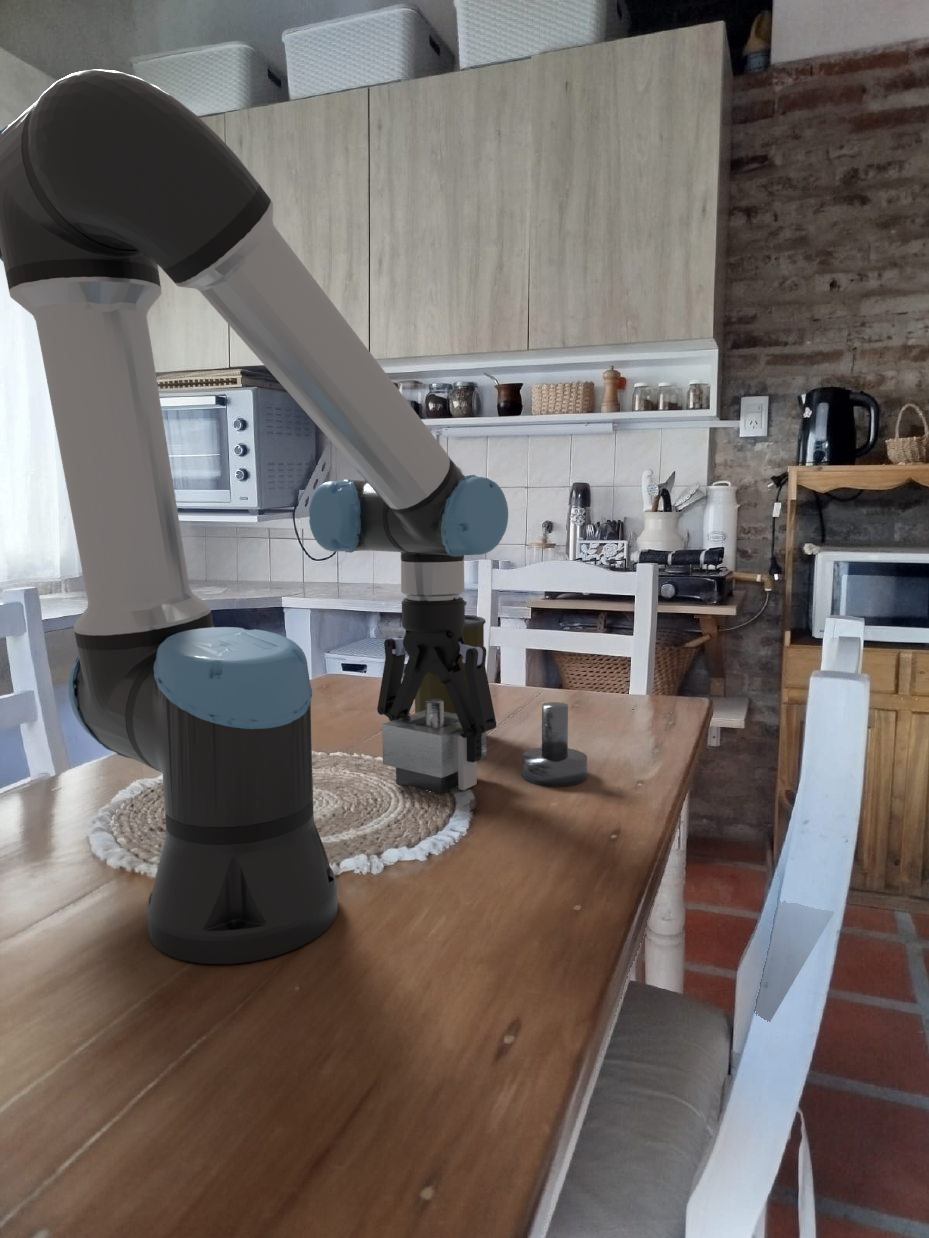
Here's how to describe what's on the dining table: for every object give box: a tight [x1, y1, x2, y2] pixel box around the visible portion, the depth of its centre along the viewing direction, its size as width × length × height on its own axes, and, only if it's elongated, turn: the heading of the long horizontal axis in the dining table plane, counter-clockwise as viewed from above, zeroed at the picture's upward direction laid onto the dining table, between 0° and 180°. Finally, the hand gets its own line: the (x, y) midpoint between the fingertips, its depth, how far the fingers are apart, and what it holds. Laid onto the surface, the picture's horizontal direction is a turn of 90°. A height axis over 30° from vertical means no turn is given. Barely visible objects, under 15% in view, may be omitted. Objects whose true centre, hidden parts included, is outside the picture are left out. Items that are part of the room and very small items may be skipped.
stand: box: [395, 699, 458, 795], centre depth 103 cm, size 7×7×10 cm
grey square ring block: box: [381, 710, 487, 778], centre depth 103 cm, size 9×9×5 cm
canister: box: [414, 600, 487, 714], centre depth 121 cm, size 11×10×20 cm
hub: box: [521, 701, 588, 788], centre depth 104 cm, size 8×8×9 cm
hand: (435, 778), depth 103 cm, fingers closed on grey square ring block, 9 cm apart
